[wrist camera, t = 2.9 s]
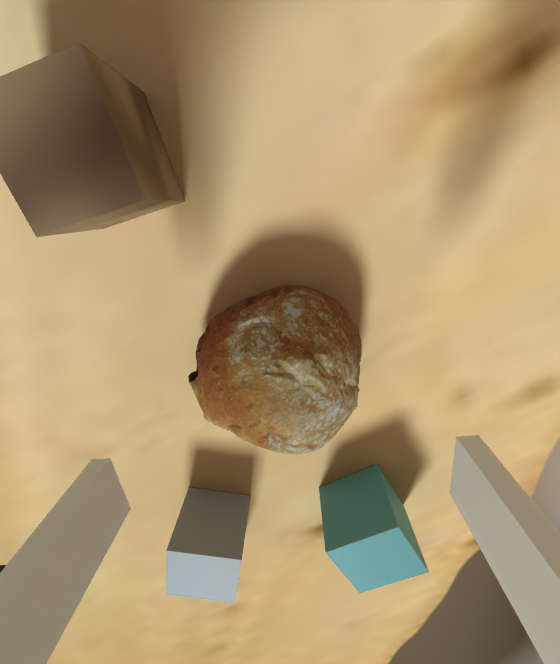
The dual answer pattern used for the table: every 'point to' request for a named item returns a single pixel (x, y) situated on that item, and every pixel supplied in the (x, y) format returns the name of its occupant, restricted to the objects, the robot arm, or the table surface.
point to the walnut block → (81, 145)
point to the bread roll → (280, 369)
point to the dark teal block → (369, 531)
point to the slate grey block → (207, 546)
